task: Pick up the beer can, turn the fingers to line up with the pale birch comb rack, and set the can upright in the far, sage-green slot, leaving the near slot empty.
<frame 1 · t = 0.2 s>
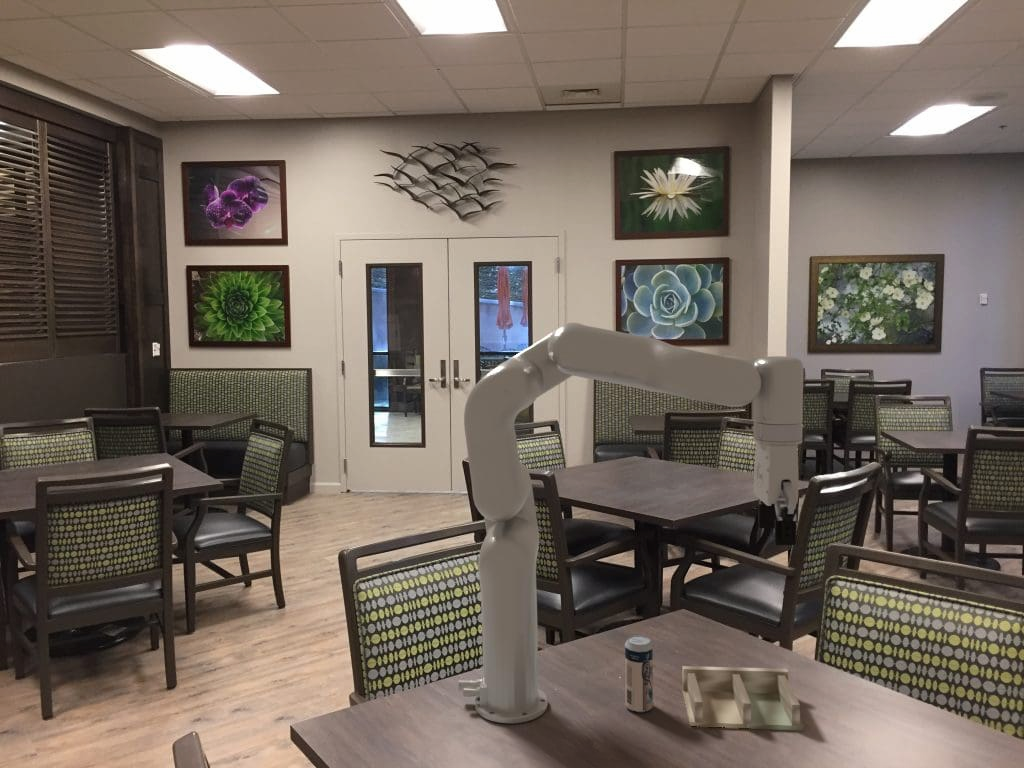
hand: (776, 535, 133), 31 cm above the table, tool pointing down, fingers open, 9 cm apart
beer can: (639, 708, 139), on the table
comb rack: (740, 710, 137), on the table
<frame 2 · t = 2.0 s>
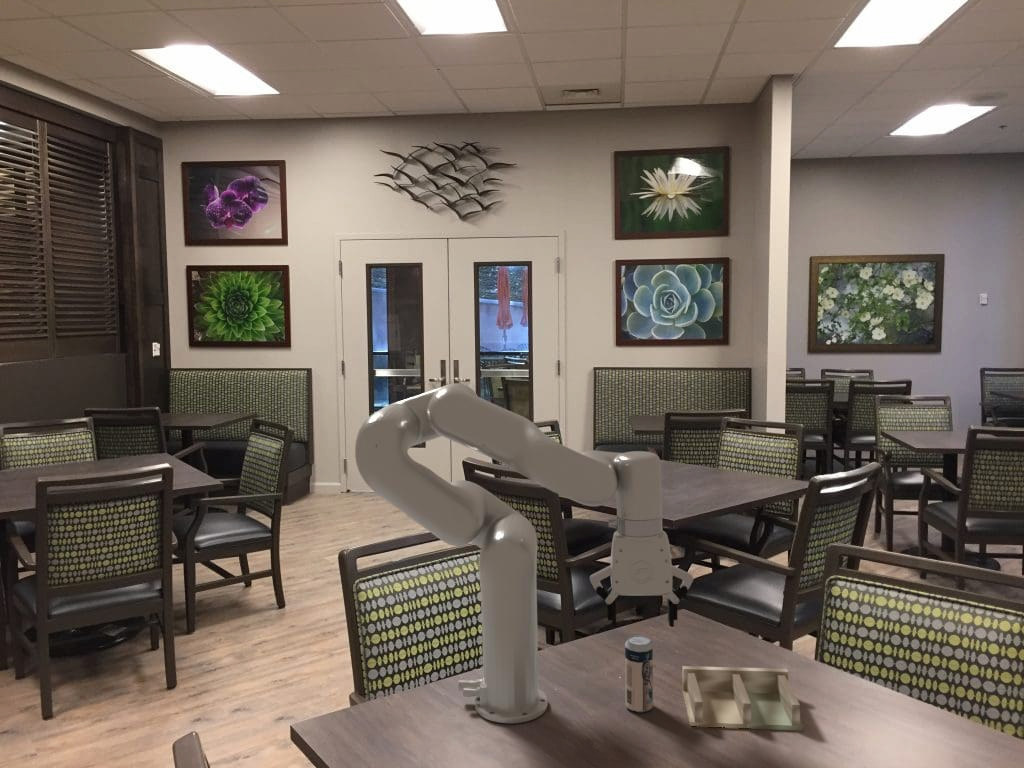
hand: (642, 623, 137), 15 cm above the table, tool pointing down, fingers open, 9 cm apart
nothing on the table moved.
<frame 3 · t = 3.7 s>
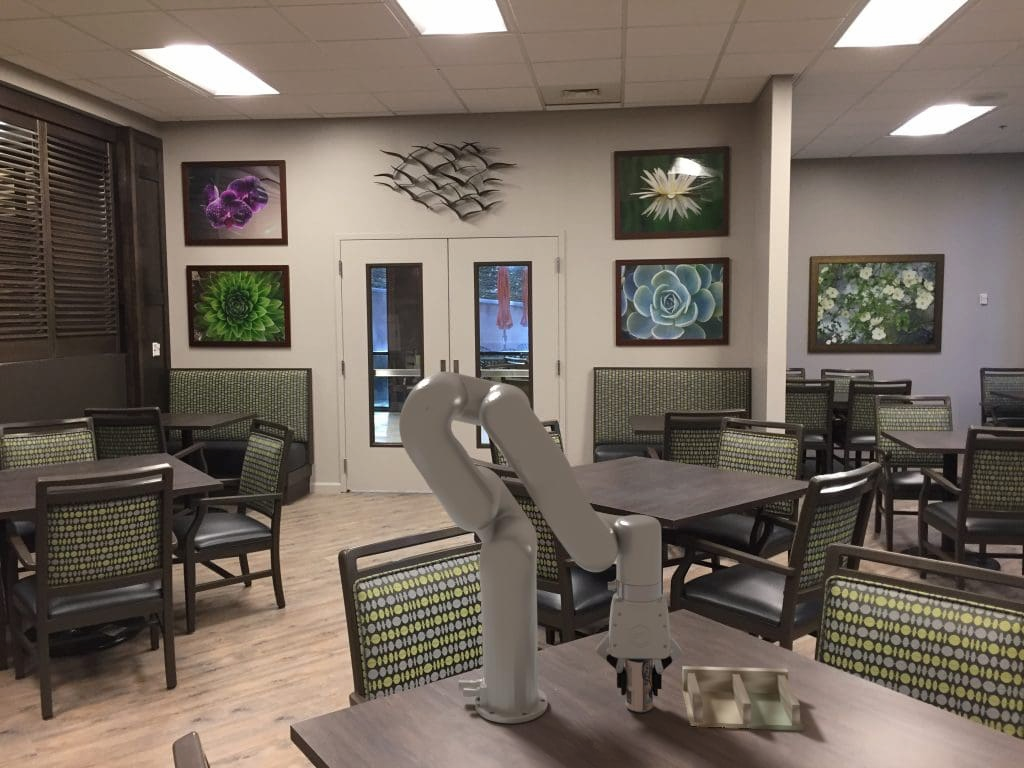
hand: (639, 691, 139), 3 cm above the table, tool pointing down, fingers closed on beer can, 4 cm apart
beer can: (639, 708, 139), on the table, touching gripper
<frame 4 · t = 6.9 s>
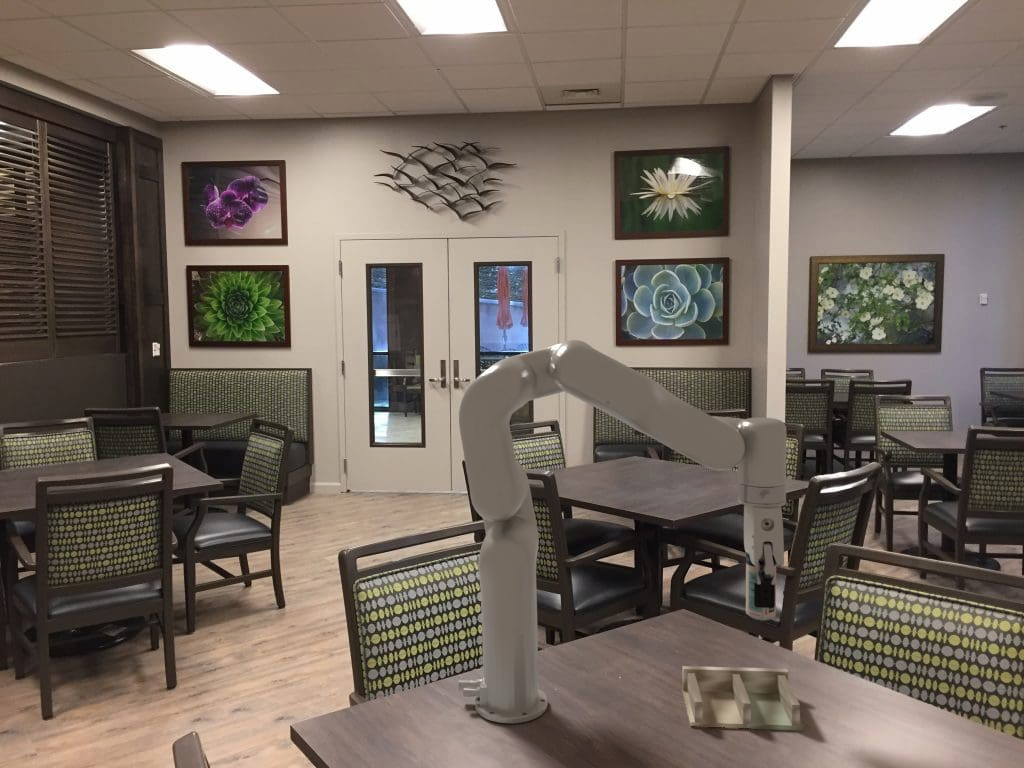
hand: (761, 599, 134), 20 cm above the table, tool pointing down, fingers closed on beer can, 4 cm apart
beer can: (760, 617, 135), point 17 cm above the table, touching gripper
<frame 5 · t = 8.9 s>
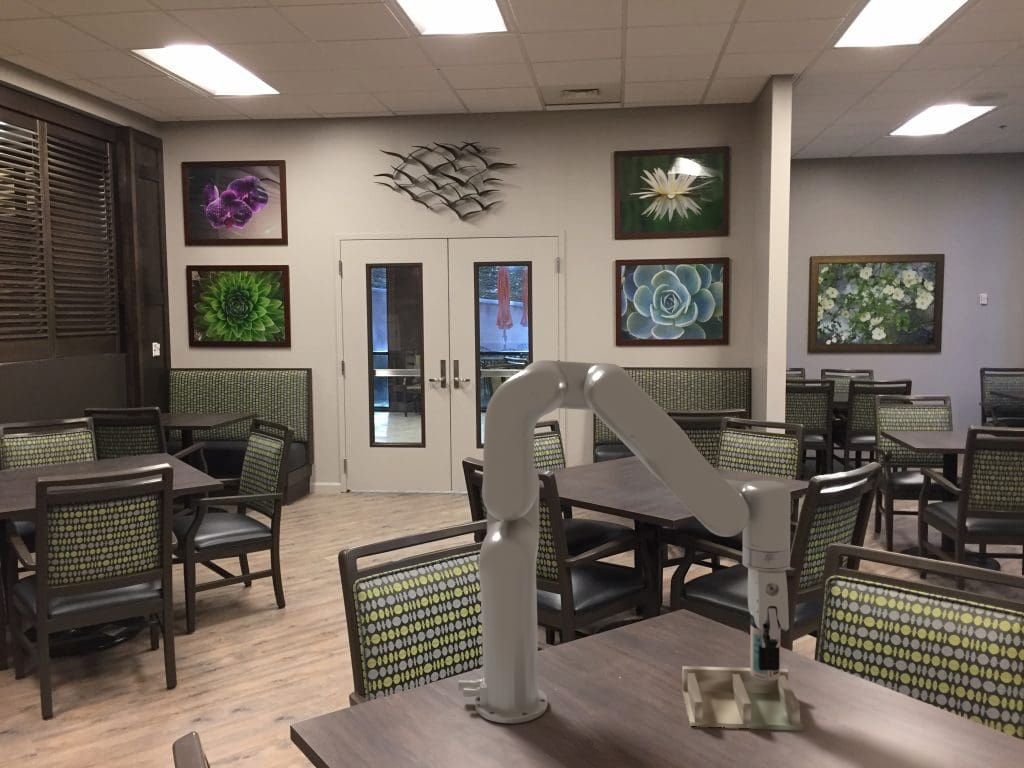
hand: (765, 660, 135), 9 cm above the table, tool pointing down, fingers closed on beer can, 4 cm apart
beer can: (765, 678, 136), point 6 cm above the table, touching gripper
when the fingers open (5 cm above the table, at t = 10.5 s): beer can drops 1 cm, resting on comb rack.
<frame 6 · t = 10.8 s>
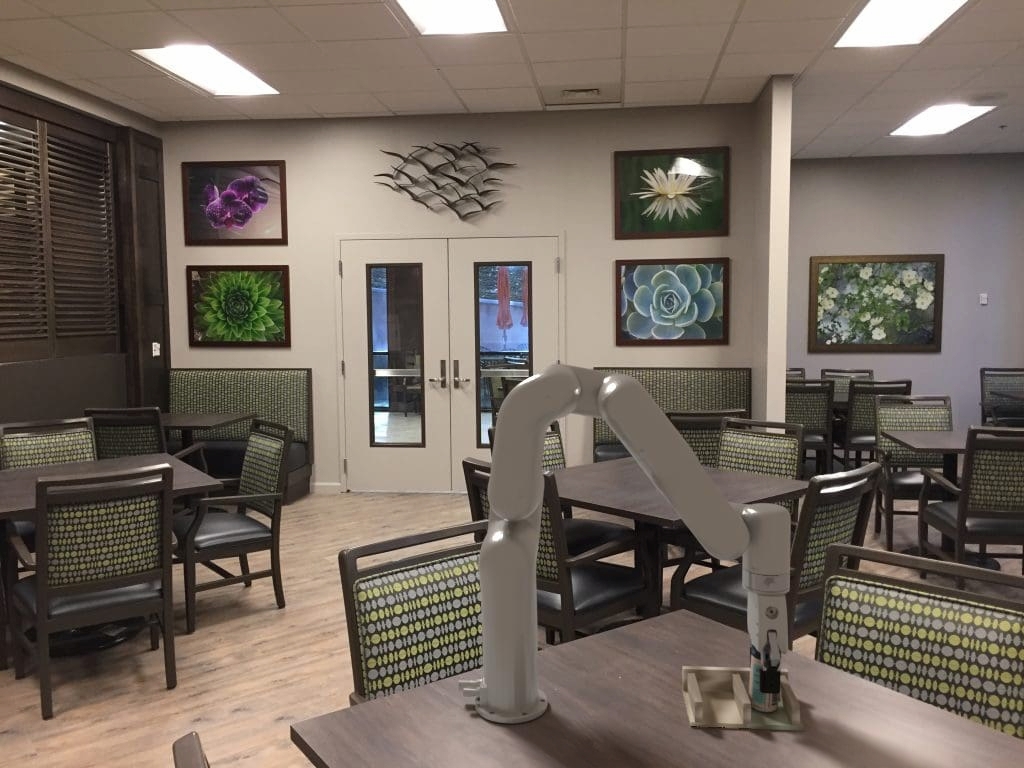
hand: (764, 680, 136), 6 cm above the table, tool pointing down, fingers open, 7 cm apart
beer can: (762, 708, 136), point 1 cm above the table, touching comb rack
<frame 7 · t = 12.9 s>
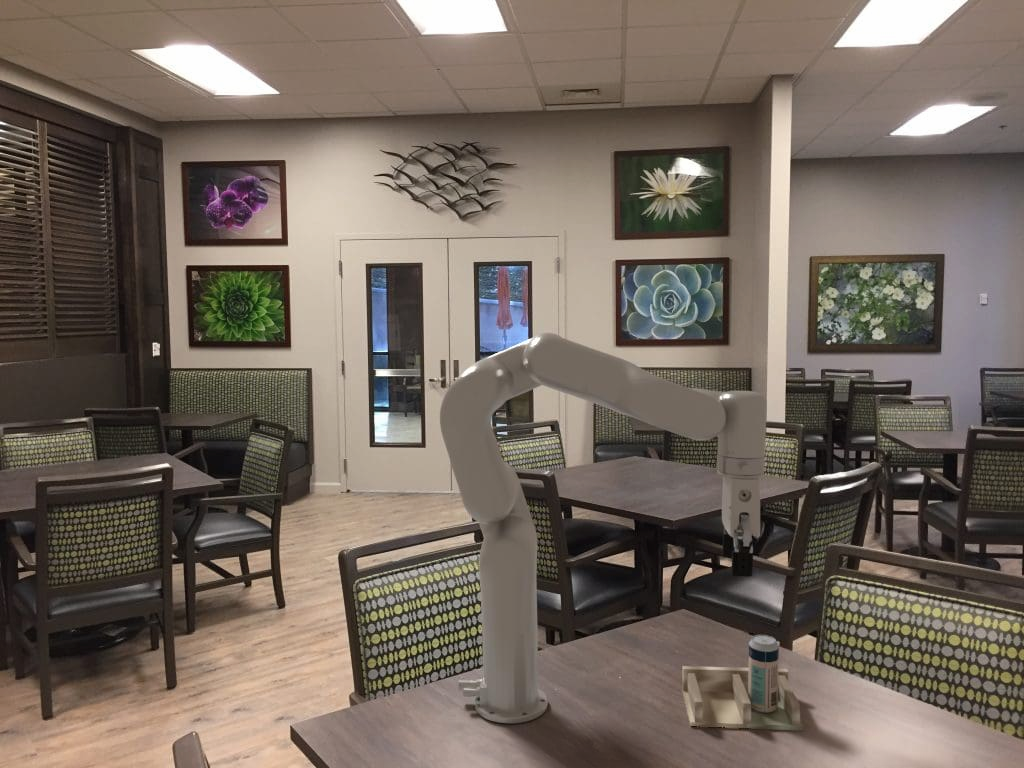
hand: (736, 566, 135), 25 cm above the table, tool pointing down, fingers open, 9 cm apart
nothing on the table moved.
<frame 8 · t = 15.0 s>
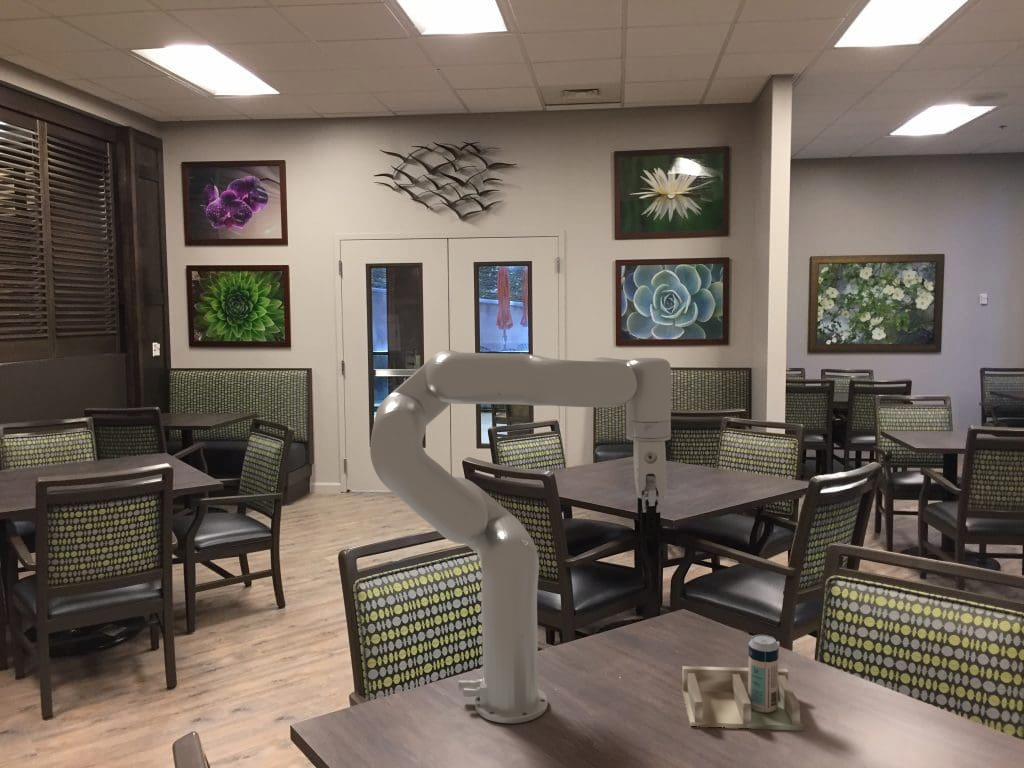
hand: (648, 527, 141), 30 cm above the table, tool pointing down, fingers open, 9 cm apart
nothing on the table moved.
at the end: beer can 0.2 cm from the target spot on the comb rack, point 0.6 cm above the comb rack's base; beer can tilted 0°; the gripper is holding nothing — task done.
